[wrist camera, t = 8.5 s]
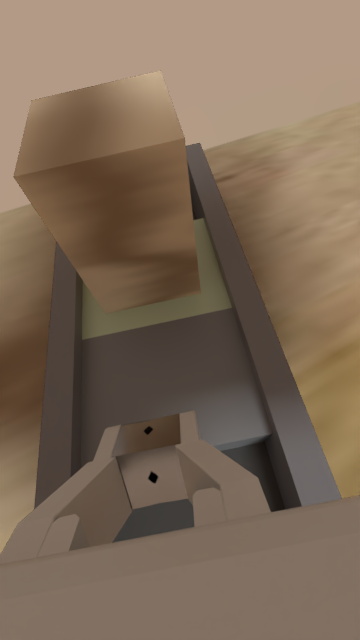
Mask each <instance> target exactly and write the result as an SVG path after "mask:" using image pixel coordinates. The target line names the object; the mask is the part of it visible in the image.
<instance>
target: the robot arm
mask: <svg viewBox="0 0 360 640" xmlns="http://www.w3.org/2000/svg"><path fill="white" fill-rule="evenodd" d="M183 499H189V501H190V502H191V504H192V505H193V511H194V526H195V527H192V528H187V529H181V530H176V531H171V532H166V533H161V534H155V535H150V536H145V537H140V538H135V539H129V540H124V541H119V542H114V543H112V542H113V541H114V539H115V537H116V536H117V534H118V533H119V531H120V530H121V528H122V526H123V525H124V523H125V522H126V520H127V519H128V517H129V515H130V514H131V512H132V509H136V508H141V507H145V506H150V505H154V504H159V503H164V502H170V501H176V500H183ZM0 640H360V495H358V496H353V497H348V498H343V499H338V500H332V501H327V502H322V503H317V504H312V505H306V506H301V507H296V508H291V509H286V510H280V511H275V512H271V511H270V508H269V506H268V503H267V500H266V498H265V495H264V493H263V490H262V487H261V485H260V482H259V479H258V477H256V476H255V475H253V474H252V473H250V472H249V471H248V470H246V469H245V468H243V467H242V466H240V465H239V464H238V463H236V462H235V461H233V460H232V459H231V458H229V457H228V456H226V455H225V454H223V453H222V452H221V451H219V450H218V449H216V448H215V447H213V446H212V445H211V444H209V443H208V442H206V441H205V440H201V436H200V432H199V427H198V422H197V418H196V413H195V411H194V410H191V411H187V412H183V413H180V414H174V415H170V416H166V417H161V418H157V419H152V420H145V421H140V422H134V423H129V424H123V425H117V426H112V427H108V428H106V429H105V431H104V433H103V436H102V439H101V441H100V444H99V447H98V449H97V452H96V454H95V457H94V460H93V461H92V462H88V463H87V464H86V465H85V466H83V467H82V468H81V469H80V470H79V471H78V472H77V473H75V474H74V475H73V476H72V477H71V478H70V479H69V480H67V481H66V482H65V483H64V484H63V485H62V486H61V487H59V488H58V489H57V490H56V491H55V492H54V493H53V494H51V495H50V496H49V497H48V498H47V499H46V500H45V501H43V502H42V503H41V504H40V505H39V506H38V507H37V508H35V509H34V510H33V511H32V512H31V513H30V514H29V515H27V516H26V517H25V518H24V519H23V520H22V521H21V522H19V523H18V525H17V526H16V528H15V530H14V532H13V533H12V535H11V537H10V539H9V540H8V542H7V544H6V546H5V547H4V549H3V551H2V553H1V554H0Z"/></svg>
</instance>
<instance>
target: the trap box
mask: <svg viewBox="0 0 360 640" xmlns="http://www.w3.org/2000/svg"><path fill="white" fill-rule="evenodd" d="M186 155H187V165H188V174H189V184H190V194H191V203H192V213H193V222H194V232H195V241H196V251H197V260H198V270H199V279H200V289H201V293H200V294H195V295H191V296H186V297H181V298H177V299H172V300H167V301H163V302H158V303H154V304H149V305H144V306H140V307H135V308H130V309H126V310H121V311H116V312H112V313H107V314H105V313H104V311H103V310H102V308H101V307H100V305H99V304H98V302H97V301H96V299H95V298H94V296H93V295H92V293H91V292H90V290H89V289H88V287H87V286H86V284H85V283H84V281H83V280H82V278H81V277H80V275H79V274H78V272H77V271H76V269H75V268H74V266H73V265H72V263H71V262H70V260H69V259H68V257H67V256H66V254H65V253H64V252H63V250H62V249H61V247H60V246H59V244H58V243H57V241H56V252H55V264H54V276H53V288H52V300H51V312H50V325H49V337H48V349H47V361H46V373H45V385H44V398H43V410H42V422H41V434H40V446H39V458H38V471H37V483H36V495H35V507H34V509H35V508H37V507H38V506H39V505H40V504H41V503H42V502H43V501H45V500H46V499H47V498H48V497H49V496H50V495H51V494H53V493H54V492H55V491H56V490H57V489H58V488H59V487H61V486H62V485H63V484H64V483H65V482H66V481H67V480H69V479H70V478H71V477H72V476H73V475H74V474H75V473H77V472H78V471H79V470H80V469H81V468H82V467H83V466H85V465H86V464H87V463H88V462H92V461H93V460H94V457H95V454H96V452H97V449H98V447H99V444H100V441H101V439H102V436H103V433H104V431H105V429H106V428H108V427H112V426H117V425H123V424H129V423H134V422H140V421H145V420H152V419H157V418H161V417H166V416H170V415H174V414H180V413H183V412H187V411H191V410H194V411H195V413H196V418H197V422H198V427H199V432H200V436H201V440H205V441H206V442H208V443H209V444H211V445H212V446H213V447H215V448H216V449H218V450H219V451H221V452H222V453H223V454H225V455H226V456H228V457H229V458H231V459H232V460H233V461H235V462H236V463H238V464H239V465H240V466H242V467H243V468H245V469H246V470H248V471H249V472H250V473H252V474H253V475H255V476H256V477H258V479H259V482H260V485H261V487H262V490H263V493H264V495H265V498H266V500H267V503H268V506H269V508H270V511H271V512H275V511H280V510H286V509H291V508H296V507H301V506H306V505H312V504H317V503H322V502H327V501H332V500H338V499H342V498H341V495H340V493H339V490H338V488H337V485H336V483H335V480H334V478H333V475H332V473H331V470H330V468H329V465H328V463H327V460H326V458H325V455H324V453H323V450H322V448H321V445H320V443H319V440H318V438H317V435H316V433H315V430H314V428H313V425H312V423H311V420H310V418H309V415H308V413H307V410H306V407H305V405H304V402H303V400H302V397H301V395H300V392H299V390H298V387H297V385H296V382H295V380H294V377H293V375H292V372H291V370H290V367H289V365H288V362H287V360H286V357H285V355H284V352H283V350H282V347H281V345H280V342H279V340H278V337H277V335H276V332H275V330H274V327H273V325H272V322H271V320H270V317H269V315H268V312H267V310H266V307H265V305H264V302H263V300H262V297H261V295H260V292H259V290H258V287H257V285H256V282H255V280H254V277H253V275H252V272H251V270H250V267H249V265H248V262H247V260H246V257H245V255H244V252H243V250H242V247H241V245H240V242H239V240H238V237H237V235H236V232H235V230H234V227H233V225H232V222H231V220H230V217H229V215H228V212H227V210H226V207H225V205H224V202H223V200H222V197H221V195H220V192H219V190H218V187H217V185H216V182H215V180H214V177H213V175H212V172H211V170H210V167H209V165H208V162H207V159H206V157H205V154H204V152H203V149H202V147H201V144H200V143H197V144H192V145H188V146H186ZM192 527H195V526H194V511H193V505H192V504H191V502H190V501H189V499H183V500H176V501H170V502H164V503H159V504H154V505H150V506H145V507H141V508H136V509H132V512H131V514H130V515H129V517H128V519H127V520H126V522H125V523H124V525H123V526H122V528H121V530H120V531H119V533H118V534H117V536H116V537H115V539H114V541H113V542H112V543H114V542H119V541H124V540H129V539H135V538H140V537H145V536H150V535H155V534H161V533H166V532H171V531H176V530H181V529H187V528H192Z"/></svg>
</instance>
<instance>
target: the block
mask: <svg viewBox="0 0 360 640" xmlns="http://www.w3.org/2000/svg"><path fill="white" fill-rule="evenodd" d="M14 178H15V180H16V181H17V183H18V184H19V186H20V187H21V189H22V190H23V192H24V193H25V195H26V196H27V198H28V199H29V201H30V202H31V204H32V205H33V207H34V208H35V210H36V211H37V213H38V214H39V216H40V217H41V219H42V220H43V222H44V223H45V225H46V226H47V228H48V229H49V231H50V232H51V234H52V235H53V237H54V238H55V240H56V241H57V243H58V244H59V246H60V247H61V249H62V250H63V252H64V253H65V254H66V256H67V257H68V259H69V260H70V262H71V263H72V265H73V266H74V268H75V269H76V271H77V272H78V274H79V275H80V277H81V278H82V280H83V281H84V283H85V284H86V286H87V287H88V289H89V290H90V292H91V293H92V295H93V296H94V298H95V299H96V301H97V302H98V304H99V305H100V307H101V308H102V310H103V311H104V313H105V314H107V313H112V312H116V311H121V310H126V309H130V308H135V307H140V306H144V305H149V304H154V303H158V302H163V301H167V300H172V299H177V298H181V297H186V296H191V295H195V294H200V293H201V289H200V279H199V270H198V260H197V251H196V241H195V232H194V222H193V213H192V203H191V194H190V184H189V174H188V165H187V155H186V146H185V138H184V135H183V132H182V129H181V127H180V123H179V120H178V118H177V115H176V112H175V109H174V106H173V104H172V101H171V98H170V95H169V92H168V89H167V87H166V84H165V81H164V78H163V75H162V72H161V71H156V72H152V73H147V74H143V75H139V76H134V77H130V78H126V79H122V80H117V81H113V82H109V83H104V84H100V85H96V86H91V87H87V88H83V89H79V90H74V91H70V92H66V93H61V94H57V95H52V96H48V97H44V98H39V99H35V100H32V101H31V105H30V108H29V113H28V117H27V121H26V126H25V130H24V134H23V138H22V142H21V147H20V151H19V155H18V160H17V164H16V168H15V172H14Z"/></svg>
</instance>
